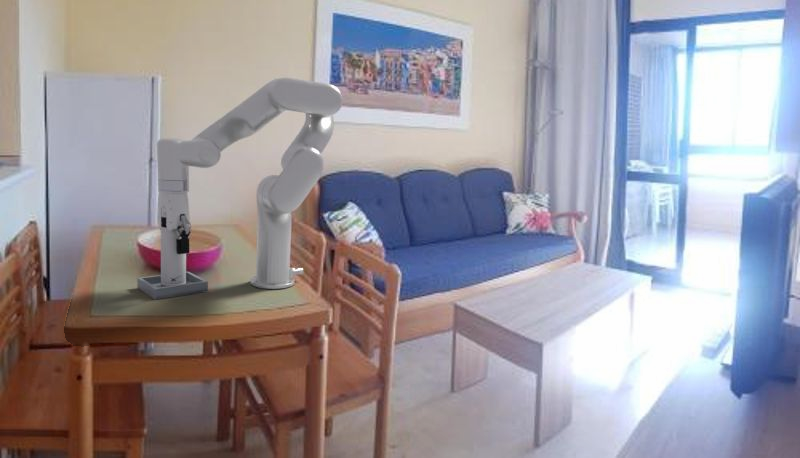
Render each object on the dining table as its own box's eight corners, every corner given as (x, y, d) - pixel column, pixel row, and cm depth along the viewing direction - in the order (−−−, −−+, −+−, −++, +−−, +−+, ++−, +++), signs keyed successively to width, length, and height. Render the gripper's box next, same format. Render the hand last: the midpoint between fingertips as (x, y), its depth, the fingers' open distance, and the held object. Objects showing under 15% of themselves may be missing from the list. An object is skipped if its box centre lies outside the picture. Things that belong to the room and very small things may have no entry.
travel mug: (178, 291, 148) (178, 216, 144) (155, 288, 149) (155, 214, 146) (191, 285, 154) (192, 213, 151) (169, 282, 155) (170, 211, 152)
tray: (188, 280, 161) (188, 271, 160) (207, 291, 152) (207, 281, 152) (137, 288, 151) (137, 277, 150) (155, 299, 143) (155, 289, 142)
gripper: (146, 183, 150) (148, 245, 153) (173, 190, 138) (174, 258, 141) (173, 182, 156) (175, 242, 159) (202, 189, 144) (203, 254, 147)
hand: (175, 249), depth 150 cm, fingers open, 9 cm apart
